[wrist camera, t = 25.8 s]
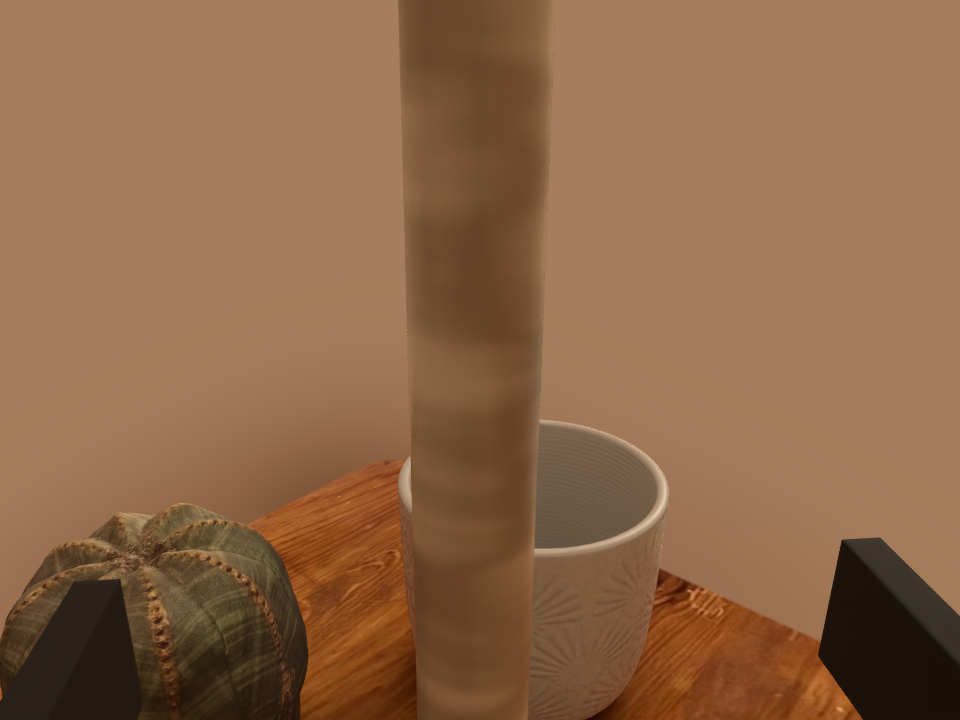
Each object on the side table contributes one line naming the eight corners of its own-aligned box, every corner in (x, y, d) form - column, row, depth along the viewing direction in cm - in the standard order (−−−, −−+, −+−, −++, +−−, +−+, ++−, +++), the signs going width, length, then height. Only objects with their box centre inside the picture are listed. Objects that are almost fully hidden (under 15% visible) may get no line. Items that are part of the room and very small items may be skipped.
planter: (537, 817, 32) (547, 596, 28) (354, 661, 40) (342, 473, 36) (696, 663, 40) (721, 476, 36) (518, 560, 48) (522, 398, 44)
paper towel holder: (414, 1081, 23) (374, -54, 12) (363, 924, 27) (299, -27, 17) (586, 985, 26) (676, -34, 15) (514, 854, 30) (544, -14, 19)
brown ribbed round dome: (259, 656, 40) (235, 448, 36) (360, 811, 32) (343, 565, 28) (20, 758, 34) (-43, 524, 30) (68, 982, 26) (-10, 703, 22)
